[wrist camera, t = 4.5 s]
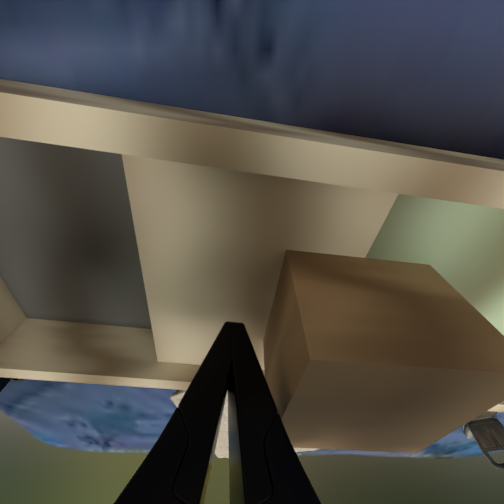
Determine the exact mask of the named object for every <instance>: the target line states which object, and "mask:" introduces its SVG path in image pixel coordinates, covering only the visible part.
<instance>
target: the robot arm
mask: <svg viewBox="0 0 504 504" xmlns="http://www.w3.org/2000/svg"><path fill="white" fill-rule="evenodd" d="M22 380H23V379H19V378H4V377H0V392H1V390H2V389H3V388H4V387H5V386H6V385H7V383H8V382H9V381H13V382H20V381H22ZM227 390H228V443H229V500H230V504H321V502H320V500H319V498H318V496H317V494H316V492H315V491H314V489H313V487H312V485H311V483H310V481H309V479H308V477H307V475H306V473H305V471H304V469H303V467H302V465H301V463H300V461H299V459H298V456H297V454H296V452H295V450H294V448H293V446H292V444H291V441H290V439H289V437H288V434H287V432H286V430H285V427H284V425H283V422H282V420H281V417H280V414H279V413H278V410H277V407H276V404H275V402H274V399H273V397H272V394H271V392H270V389H269V386H268V384H267V381H266V379H265V376H264V374H263V371H262V368H261V366H260V363H259V361H258V358H257V356H256V353H255V350H254V348H253V345H252V343H251V340H250V338H249V335H248V332H247V330H246V327H245V325H244V323H241V322H229V321H226V322H225V323H224V325H223V326H222V328H221V330H220V332H219V334H218V335H217V337H216V339H215V341H214V342H213V344H212V346H211V348H210V350H209V351H208V353H207V355H206V357H205V358H204V360H203V362H202V364H201V366H200V367H199V369H198V371H197V373H196V374H195V376H194V378H193V380H192V382H191V383H190V385H189V387H188V389H187V390H186V392H185V394H184V396H183V398H182V399H181V401H180V403H179V405H178V407H177V408H176V410H175V411H174V413H173V415H172V417H171V419H170V420H169V422H168V424H167V425H166V427H165V429H164V430H163V432H162V434H161V435H160V437H159V439H158V440H157V442H156V443H155V445H154V446H153V448H152V449H151V451H150V452H149V454H148V455H147V457H146V458H145V460H144V461H143V463H142V464H141V466H140V467H139V468H138V470H137V471H136V473H135V474H134V476H133V477H132V479H131V480H130V481H129V483H128V484H127V485H126V487H125V488H124V490H123V491H122V493H121V494H120V496H119V497H118V498H117V500H116V501H115V503H114V504H204V503H205V498H206V493H207V488H208V483H209V478H210V473H211V469H212V464H213V459H214V454H215V449H216V444H217V439H218V434H219V430H220V425H221V420H222V415H223V410H224V405H225V400H226V395H227Z"/></svg>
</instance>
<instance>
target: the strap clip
mask: <svg viewBox="0 0 504 504" xmlns="http://www.w3.org/2000/svg"><path fill="white" fill-rule="evenodd" d="M496 414H497V412H494V411H486V412H484V413H483V414H481V415H479V416H478V417H476V418H474V419H473V420H471V421H469V422H468V423H466V424H464V426H463V432H464V434H465V436H466V437H467V438H468V439H472V438H474V439H475V440H476V442H477V444H478V446H479V447H480V449H481V451H482V453H483V454H484V455H485V457H486V458H487V459H488V460H489V462H490V463H491V464H492V465H493V466H494V467H496V468H498V469H502V468H504V463H503V464H497V463H495V462H494V461H493V459H492V458H491V457H490V455H489V454H488V452H489V451H497V450H504V427H503V425H502V424H501V423H500V422H499V420H498V419H496V418H493V416H496Z"/></svg>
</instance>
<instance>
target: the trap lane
mask: <svg viewBox="0 0 504 504" xmlns="http://www.w3.org/2000/svg"><path fill="white" fill-rule="evenodd" d="M286 250H294V251H303V252H313V253H323V254H332V255H342V256H352V257H361V258H371V259H380V260H389V261H399V262H408V263H418V264H427V265H431V266H432V267H433V268H434V269H435V270H436V271H437V272H438V273H439V274H440V275H441V276H442V277H443V278H444V279H445V280H446V281H447V282H448V283H449V284H450V285H451V286H452V287H454V288H455V289H456V290H457V291H458V292H459V293H460V294H461V295H462V296H463V297H464V298H465V299H466V300H467V301H468V302H469V303H470V304H471V305H472V306H473V307H474V308H475V309H476V310H477V311H479V312H480V313H481V314H482V315H483V316H484V317H485V318H486V319H487V320H488V321H489V322H490V323H491V324H492V325H493V326H494V327H495V328H496V329H497V330H498V331H499V332H500V333H501V334H502V335H504V160H502V159H496V158H490V157H484V156H477V155H471V154H465V153H459V152H453V151H446V150H440V149H434V148H428V147H422V146H415V145H409V144H403V143H397V142H391V141H384V140H378V139H372V138H366V137H360V136H353V135H347V134H341V133H335V132H328V131H322V130H316V129H310V128H304V127H297V126H291V125H285V124H279V123H273V122H266V121H260V120H254V119H248V118H242V117H235V116H229V115H223V114H217V113H210V112H204V111H198V110H192V109H186V108H179V107H173V106H167V105H161V104H155V103H148V102H142V101H136V100H130V99H124V98H117V97H111V96H105V95H99V94H93V93H86V92H80V91H74V90H68V89H61V88H55V87H49V86H43V85H37V84H30V83H24V82H18V81H12V80H6V79H0V377H4V378H19V379H33V380H47V381H62V382H76V383H91V384H105V385H119V386H134V387H148V388H163V389H177V390H187V389H188V387H189V385H190V383H191V382H192V380H193V378H194V376H195V374H196V373H197V371H198V369H199V367H200V366H201V364H202V362H203V360H204V358H205V357H206V355H207V353H208V351H209V350H210V348H211V346H212V344H213V342H214V341H215V339H216V337H217V335H218V334H219V332H220V330H221V328H222V326H223V325H224V323H225V322H226V321H229V322H241V323H244V325H245V327H246V330H247V332H248V335H249V338H250V340H251V343H252V345H253V348H254V350H255V353H256V356H257V358H258V361H259V363H260V366H261V368H262V371H263V374H264V376H265V370H264V348H263V340H264V336H265V332H266V328H267V324H268V320H269V316H270V312H271V308H272V304H273V300H274V296H275V292H276V288H277V284H278V280H279V276H280V272H281V268H282V264H283V260H284V256H285V252H286ZM227 393H228V390H227ZM488 411H494V412H504V401H503V402H501V403H499V404H498V405H496V406H494V407H493V408H491V409H489V410H488Z"/></svg>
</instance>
